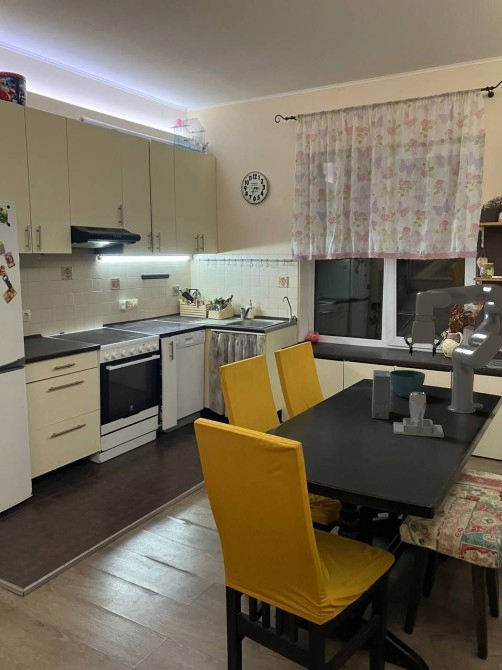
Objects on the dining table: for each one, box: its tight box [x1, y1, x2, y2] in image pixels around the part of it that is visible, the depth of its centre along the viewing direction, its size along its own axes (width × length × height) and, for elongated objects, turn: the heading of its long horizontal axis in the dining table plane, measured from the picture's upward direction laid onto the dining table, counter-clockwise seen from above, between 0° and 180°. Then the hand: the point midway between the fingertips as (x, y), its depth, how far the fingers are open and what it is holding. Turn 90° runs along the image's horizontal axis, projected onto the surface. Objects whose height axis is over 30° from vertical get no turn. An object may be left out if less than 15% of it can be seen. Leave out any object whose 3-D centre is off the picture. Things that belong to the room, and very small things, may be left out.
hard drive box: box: [371, 369, 391, 420], centre depth 260 cm, size 16×8×20 cm, turn 168°
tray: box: [393, 417, 445, 438], centre depth 237 cm, size 20×14×6 cm
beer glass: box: [408, 391, 427, 426], centre depth 237 cm, size 7×7×15 cm
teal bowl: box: [389, 369, 426, 399], centre depth 296 cm, size 18×18×12 cm
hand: (422, 355), depth 256 cm, fingers open, 9 cm apart
